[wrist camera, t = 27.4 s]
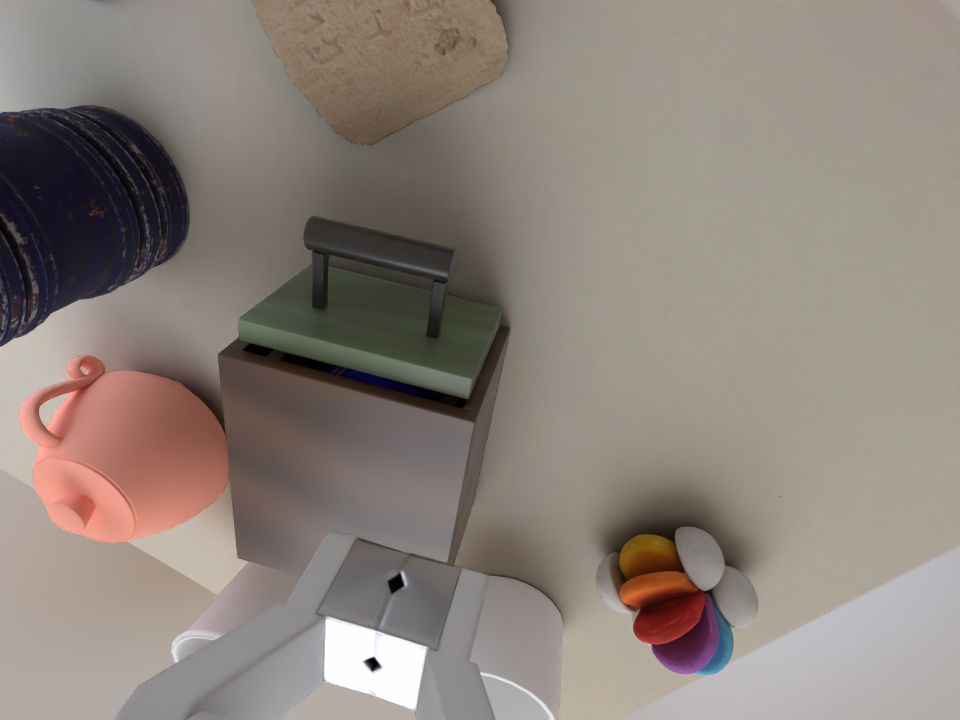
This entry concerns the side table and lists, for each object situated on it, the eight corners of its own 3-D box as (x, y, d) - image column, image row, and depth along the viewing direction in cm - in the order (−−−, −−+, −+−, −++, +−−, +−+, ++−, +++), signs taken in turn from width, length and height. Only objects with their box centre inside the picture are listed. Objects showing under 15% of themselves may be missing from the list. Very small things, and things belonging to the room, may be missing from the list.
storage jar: (218, 253, 35) (-7, 375, 23) (101, 280, 38) (-156, 401, 26) (135, 80, 31) (-201, 111, 18) (11, 126, 34) (-352, 180, 21)
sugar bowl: (163, 495, 48) (64, 596, 40) (55, 356, 43) (-88, 437, 34) (276, 472, 44) (191, 580, 35) (171, 314, 38) (41, 395, 30)
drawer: (314, 183, 31) (230, 223, 24) (518, 229, 30) (489, 285, 23) (312, 439, 40) (252, 519, 34) (467, 481, 39) (436, 573, 32)
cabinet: (311, 279, 35) (217, 354, 27) (510, 328, 34) (475, 422, 25) (310, 457, 42) (237, 558, 34) (473, 503, 41) (436, 618, 33)
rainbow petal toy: (689, 497, 37) (703, 590, 31) (766, 590, 39) (793, 693, 33) (582, 542, 41) (575, 633, 35) (658, 624, 43) (664, 722, 37)
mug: (492, 551, 43) (468, 648, 36) (595, 625, 45) (591, 732, 38) (400, 620, 50) (365, 714, 43) (493, 682, 52) (473, 782, 45)
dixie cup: (300, 606, 52) (238, 717, 44) (230, 549, 50) (150, 654, 42) (355, 576, 48) (299, 692, 40) (282, 513, 46) (205, 620, 38)
